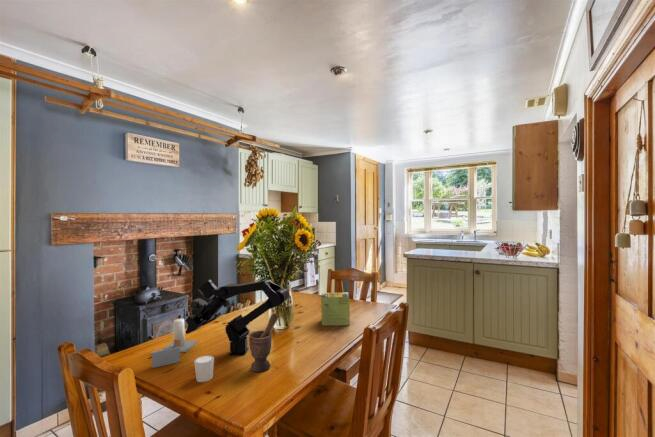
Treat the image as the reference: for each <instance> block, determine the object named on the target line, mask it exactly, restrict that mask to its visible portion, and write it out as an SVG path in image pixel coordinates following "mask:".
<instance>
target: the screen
mask: <svg viewBox="0 0 655 437" xmlns="http://www.w3.org/2000/svg"><path fill="white" fill-rule="evenodd" d="M180 362H181V353H180V346H179V347H174V348H169V349H164V350H162V349H160V350H154V351H151V368H152V369H154V368H158V367H163V366H168V365H173V364H176V363H180Z"/></svg>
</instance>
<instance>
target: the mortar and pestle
mask: <svg viewBox="0 0 655 437" xmlns="http://www.w3.org/2000/svg"><path fill="white" fill-rule="evenodd" d="M278 319H279V315H277V314H276V313H273V314H271V316H270V318H269V320H268V323H267V325H266V327H265V329H264V330H258V331H257V330H256V331H254V332H251V333H249V335H248V337H249V338H248V339H249V340H248V341H249V350H250V354H251V356H252V358H253V359H254V361H252V363H251V364H250V371H253V372H257V373H261V372H265V371H267V370H269V369H270V368H271V364H270V360H268V359H267V358H268V356H269V355H270V353H271V350H272V337H273V334H272V332H271V330H272V329H273V327H274V326H275V324H276V323H277V321H278Z"/></svg>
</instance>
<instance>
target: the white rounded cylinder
mask: <svg viewBox="0 0 655 437" xmlns="http://www.w3.org/2000/svg"><path fill="white" fill-rule="evenodd" d="M172 323H173V326H172V327H173V341H174V347H179V346H180V348H181V347H184V346H185V341H186V338H185V335H186V330H185V326H186V325H185V318H176V319H174V320H173V322H172Z"/></svg>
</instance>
